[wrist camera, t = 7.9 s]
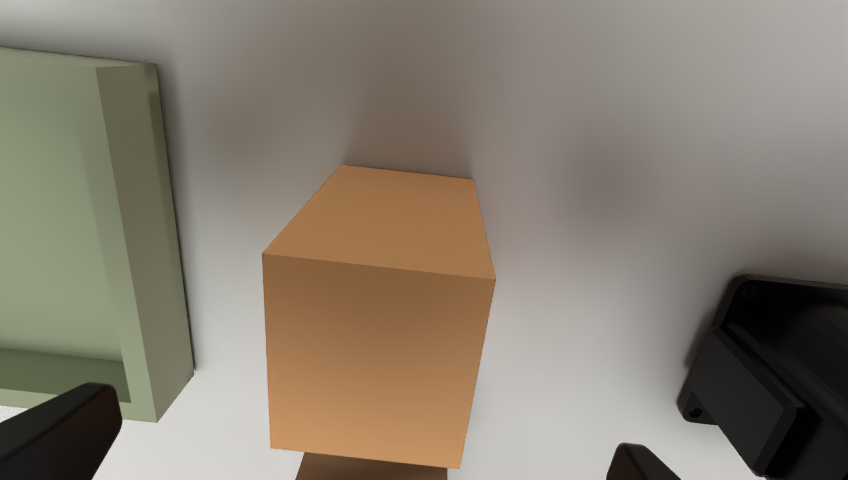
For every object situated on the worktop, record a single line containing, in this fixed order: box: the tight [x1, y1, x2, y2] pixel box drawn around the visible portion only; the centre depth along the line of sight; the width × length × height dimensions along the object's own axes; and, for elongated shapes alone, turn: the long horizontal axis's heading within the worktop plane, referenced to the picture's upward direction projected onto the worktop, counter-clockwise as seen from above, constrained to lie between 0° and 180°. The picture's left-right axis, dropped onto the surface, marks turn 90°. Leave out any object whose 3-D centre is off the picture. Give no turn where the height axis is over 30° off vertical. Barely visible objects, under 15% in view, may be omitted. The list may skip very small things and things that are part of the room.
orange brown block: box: [262, 165, 496, 469], centre depth 13 cm, size 4×5×7 cm
